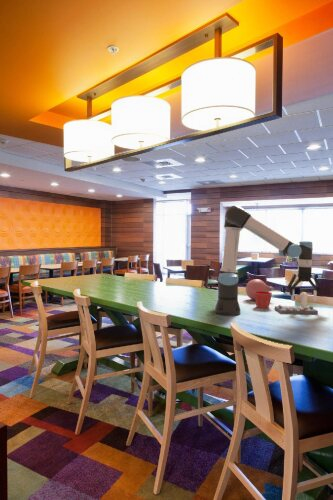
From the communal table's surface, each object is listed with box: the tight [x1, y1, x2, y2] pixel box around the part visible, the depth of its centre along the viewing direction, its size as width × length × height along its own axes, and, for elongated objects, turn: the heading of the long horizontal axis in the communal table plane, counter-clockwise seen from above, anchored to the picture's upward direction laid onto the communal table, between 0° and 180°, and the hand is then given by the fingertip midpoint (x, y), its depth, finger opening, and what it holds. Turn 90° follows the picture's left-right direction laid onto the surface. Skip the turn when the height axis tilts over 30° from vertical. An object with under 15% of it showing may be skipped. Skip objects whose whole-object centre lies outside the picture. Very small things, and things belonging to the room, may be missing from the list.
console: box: [274, 304, 319, 315], centre depth 204 cm, size 22×12×4 cm, turn 89°
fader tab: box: [300, 291, 308, 309], centre depth 204 cm, size 3×4×10 cm
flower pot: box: [254, 291, 273, 309], centre depth 217 cm, size 11×11×10 cm
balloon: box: [245, 278, 275, 301], centre depth 240 cm, size 15×20×15 cm
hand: (303, 300), depth 204 cm, fingers open, 13 cm apart
